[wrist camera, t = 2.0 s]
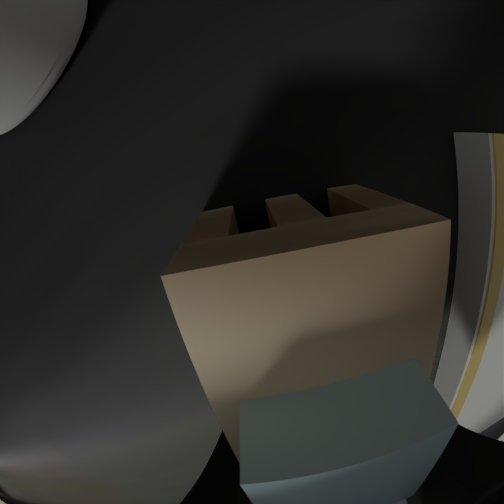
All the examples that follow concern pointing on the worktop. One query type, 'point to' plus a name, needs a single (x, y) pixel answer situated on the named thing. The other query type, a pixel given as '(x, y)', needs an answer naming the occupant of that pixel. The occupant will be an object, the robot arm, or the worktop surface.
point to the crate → (345, 440)
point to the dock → (477, 288)
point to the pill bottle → (34, 52)
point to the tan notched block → (308, 295)
